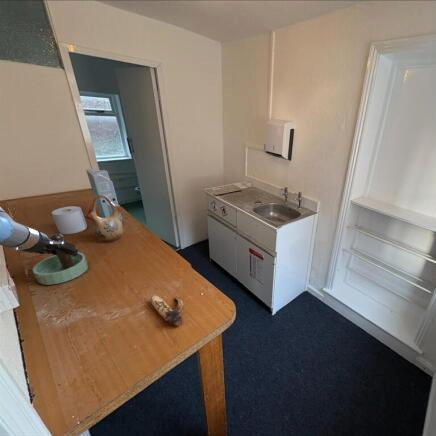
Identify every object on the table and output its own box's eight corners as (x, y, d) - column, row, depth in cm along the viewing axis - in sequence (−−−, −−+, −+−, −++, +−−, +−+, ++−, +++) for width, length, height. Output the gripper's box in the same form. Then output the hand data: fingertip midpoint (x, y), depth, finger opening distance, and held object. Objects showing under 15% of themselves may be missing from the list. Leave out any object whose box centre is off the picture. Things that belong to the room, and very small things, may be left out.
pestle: (58, 274, 95) (42, 237, 88) (65, 266, 100) (51, 231, 93) (73, 273, 97) (59, 236, 89) (80, 265, 101) (66, 230, 94)
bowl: (27, 288, 89) (21, 276, 86) (53, 264, 102) (48, 253, 100) (76, 283, 93) (72, 272, 91) (95, 260, 106) (91, 250, 104)
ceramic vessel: (95, 248, 115) (80, 201, 104) (90, 241, 120) (75, 196, 109) (133, 237, 126) (122, 194, 116) (127, 231, 132) (116, 189, 121)
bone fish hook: (196, 317, 83) (170, 292, 92) (195, 307, 81) (169, 283, 90) (170, 333, 76) (145, 305, 85) (169, 323, 74) (143, 295, 83)
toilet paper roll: (88, 223, 137) (82, 204, 132) (86, 231, 128) (79, 212, 124) (61, 227, 131) (53, 208, 126) (56, 236, 122) (48, 216, 117)
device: (122, 222, 142) (110, 173, 129) (107, 225, 136) (92, 175, 124) (114, 213, 151) (102, 167, 139) (100, 216, 146) (85, 169, 133)
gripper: (-9, 252, 75) (44, 264, 96) (55, 248, 79) (92, 260, 100) (-3, 230, 77) (47, 246, 98) (59, 227, 81) (94, 243, 103)
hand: (70, 253), depth 99 cm, fingers closed on pestle, 4 cm apart
